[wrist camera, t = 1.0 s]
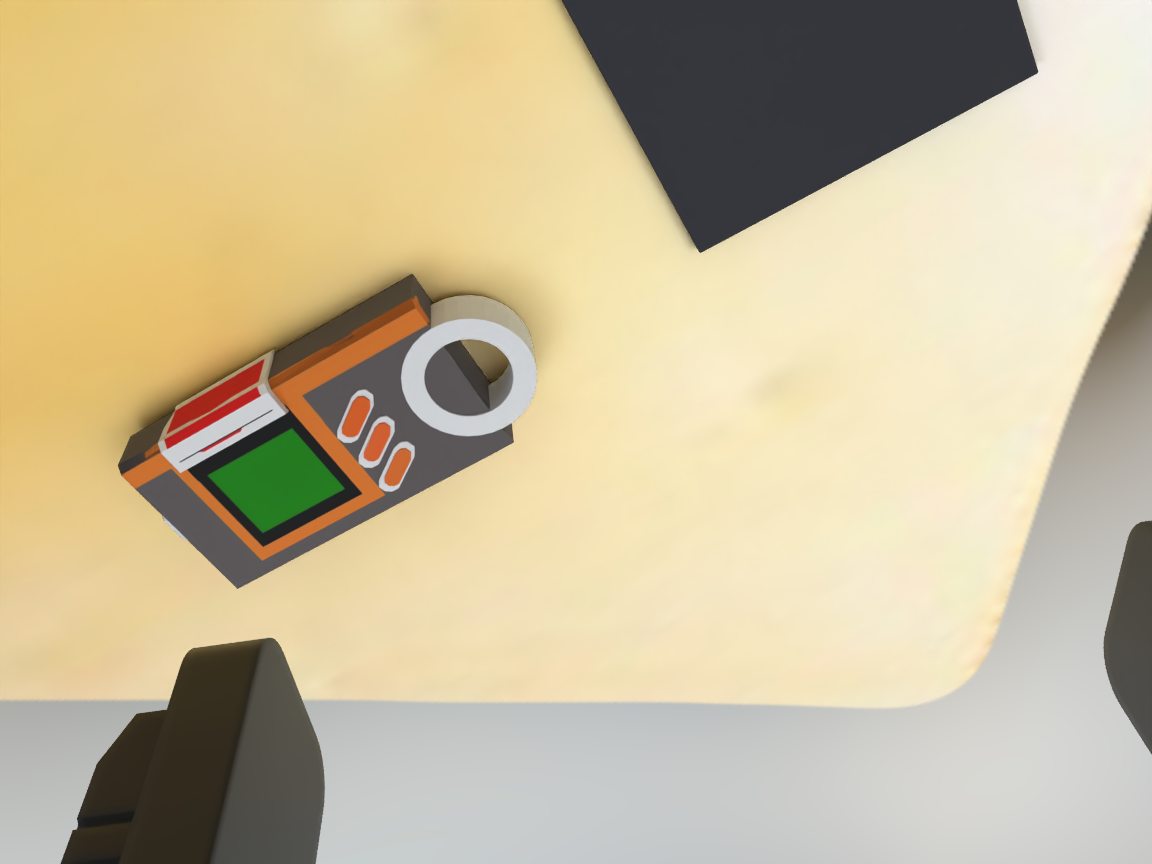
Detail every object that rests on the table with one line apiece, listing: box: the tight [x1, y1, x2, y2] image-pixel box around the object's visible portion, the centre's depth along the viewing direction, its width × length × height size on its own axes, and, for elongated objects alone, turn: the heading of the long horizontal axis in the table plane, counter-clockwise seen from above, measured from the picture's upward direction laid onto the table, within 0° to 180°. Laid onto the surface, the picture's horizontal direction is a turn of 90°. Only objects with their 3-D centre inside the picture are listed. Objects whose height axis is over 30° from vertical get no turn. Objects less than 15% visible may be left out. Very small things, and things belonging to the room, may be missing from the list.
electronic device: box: [118, 274, 537, 589], centre depth 38 cm, size 7×3×15 cm
